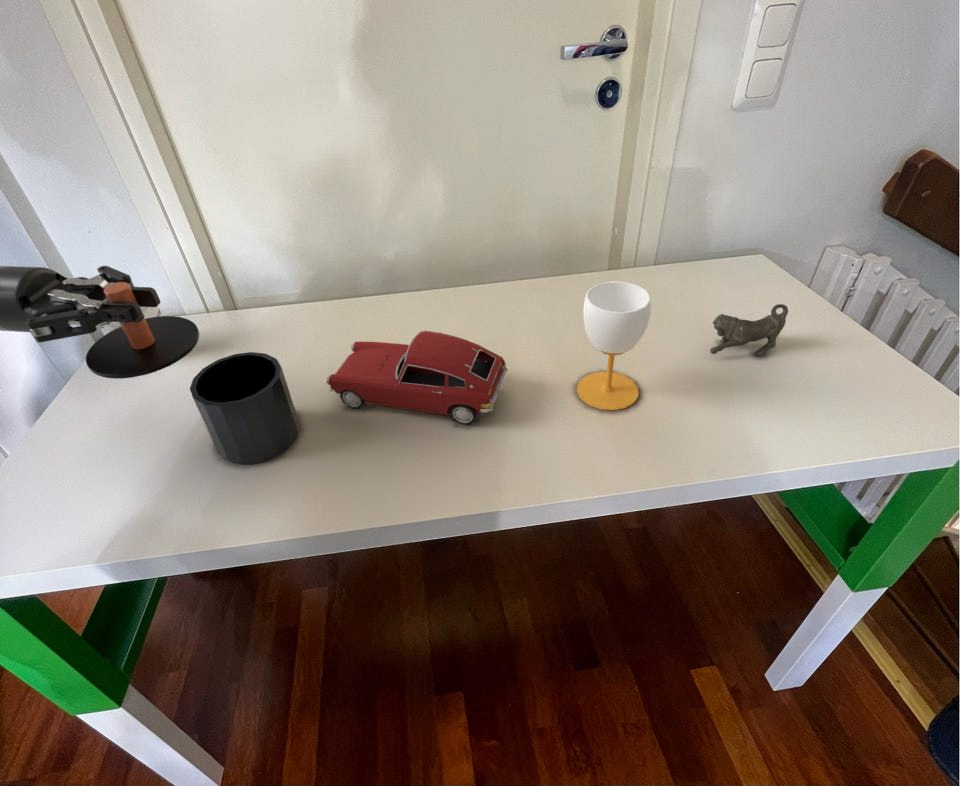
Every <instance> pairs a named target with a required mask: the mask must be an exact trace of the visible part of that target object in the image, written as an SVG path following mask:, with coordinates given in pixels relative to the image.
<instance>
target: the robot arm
mask: <svg viewBox="0 0 960 786" xmlns="http://www.w3.org/2000/svg"><path fill="white" fill-rule="evenodd" d="M96 270H97V272H98V274H97V275H95V276H92V277H90V278H88V277H85V276H78V277H71V278H68V277H65V275H62V274H60V273H59V272H57V271H55V270H54V269H52V268H48V267H42V266H15V265H14V266H12V265H11V266H10V265H0V332H15V333H16V332H17V333H31V334H32V336H33V338H34V339H35V341H36V342H37V343H45V342H52V341H57V340H61V339H67V338H73V337H77V336H78V337H79V336H83V335H88V334H89V335H90V334H93V333H95V332H97V330H98V328H97V326H99V325H107V324H109V323H111V322H140V321H142V320H143V319H144V314H143V312H142V310H141V308H140V307H157V306H158V307H159V305H160V304H161V300H160V297H159V295H158V293H157V290H156V288H154V287H151V286H135V285H134V282H133V280H132V277H131V275H130V274H127V273H125V272H122V271H120V270H118V269H115V268H112V267H111V266H108V265H101V266H99V267H97V269H96ZM118 282H126V283H128V284H129V285H130V288H131V290H132V292H133V294H134V296H135V298H136V300H137V303H138V304H137V303H136V302H123V301H108V299H107V297H106V295H105V293H104V289H105V288H106V287H107V286H109V285H111V284H114V283H118ZM73 325H76V326H73Z"/></svg>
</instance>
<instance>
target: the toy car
mask: <svg viewBox="0 0 960 786" xmlns="http://www.w3.org/2000/svg"><path fill="white" fill-rule="evenodd" d="M350 349H351V352H352V353H350V354H349V355H347V357H346V359H345V360H343V362H342V363H341V365H340V367H338V369H337V370H336V372H335V373H332V374H328V375H327V376H326V381H325V382H326V384H327V385H329V391H330V392H332V393H333V391H334V393H336V394H338V395H340V396H339V398H340V400H341V402H342V403H343V404H344V405H345V406H347V407H348V408H350V409H353V410H355V409H356V410H357V409H360V408H363V407H364V405H365V403H366V404H368V405H376V406H381V407H388V408H389V407H390V408H395V409H402V410H410V411H415V412H423V413H430V414H437V415H444V416H449V414H450V415H451V418H452V420H454V421H455V422H457V424H462V425H466V426H467V425H471V424H473V423H474V422H475V421H476V420H477V417H478V415H481V414H484V413H485V414H487V413H490V412H492V411H494V405H495V403H496V401H497V398H498V396H499V393H500V391H501V388H502V384H503V381H504V379H505V377H506V373H508V372H509V369H508V367H507V363H506V362H505V360H504V357H503V356H501V355H499V354H497V353H495V352H493V351H491V350H489V349H488V348H485V347H484V346H482V345H480V344H478V343H475V342H472V341H471V340H468V339H464V338H461V337H458V336H456V335H451V334H447V333H442V332H437V331H429V330H421V331H419V332H418V333H416V335H415V336H413V338H412V339H411V341H410V343H409V344H406V343H405V344H404V343H394V342H393V343H391V342H383V341H353V342H352V343H351V347H350Z"/></svg>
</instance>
